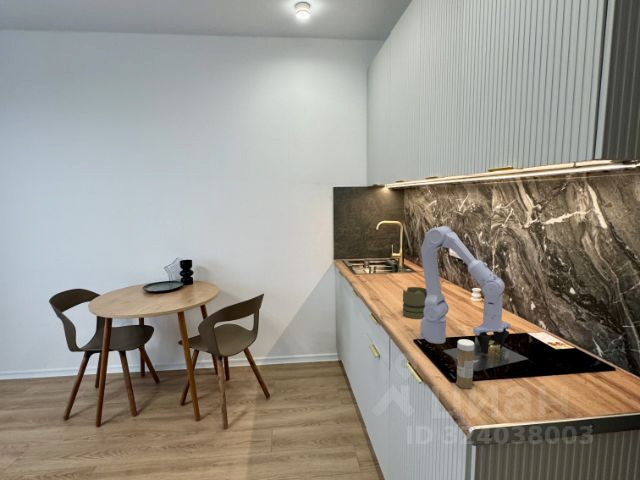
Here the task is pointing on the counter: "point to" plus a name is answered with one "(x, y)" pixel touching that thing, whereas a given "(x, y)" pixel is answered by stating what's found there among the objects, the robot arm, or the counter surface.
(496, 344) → the cap
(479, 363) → the base
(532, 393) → the counter surface
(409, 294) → the piston
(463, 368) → the sprinkles bottle
